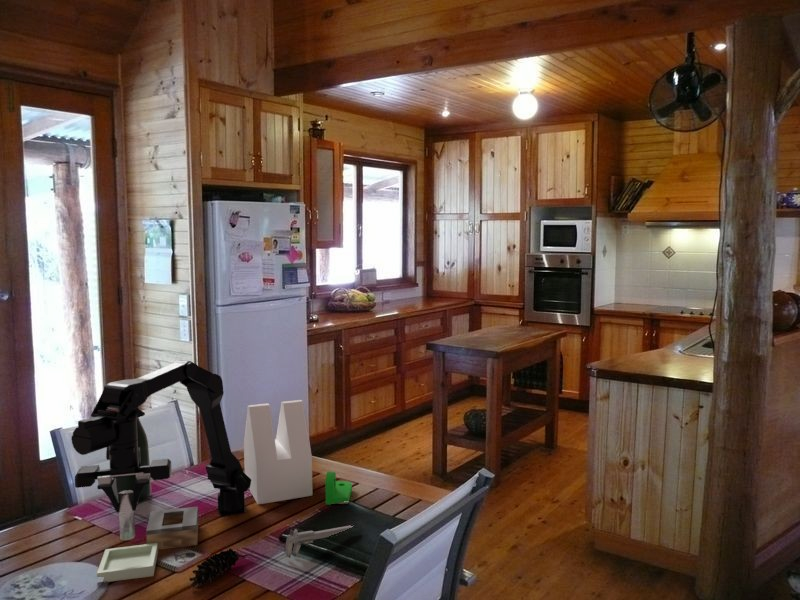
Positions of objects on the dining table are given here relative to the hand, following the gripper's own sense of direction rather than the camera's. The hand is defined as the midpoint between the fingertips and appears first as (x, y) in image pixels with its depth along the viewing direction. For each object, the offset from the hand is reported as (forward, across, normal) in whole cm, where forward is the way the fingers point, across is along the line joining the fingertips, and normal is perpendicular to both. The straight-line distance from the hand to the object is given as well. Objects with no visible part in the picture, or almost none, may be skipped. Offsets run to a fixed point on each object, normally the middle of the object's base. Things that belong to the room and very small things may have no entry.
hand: (126, 510), depth 140 cm
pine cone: (+16, -25, +5) cm, 30 cm away
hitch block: (+13, -8, -12) cm, 20 cm away
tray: (+13, 0, 0) cm, 13 cm away
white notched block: (+13, -35, -38) cm, 54 cm away
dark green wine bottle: (+13, +4, -42) cm, 44 cm away
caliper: (+14, -43, +1) cm, 45 cm away
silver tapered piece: (+6, 0, 0) cm, 6 cm away
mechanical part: (+13, -52, -27) cm, 60 cm away
